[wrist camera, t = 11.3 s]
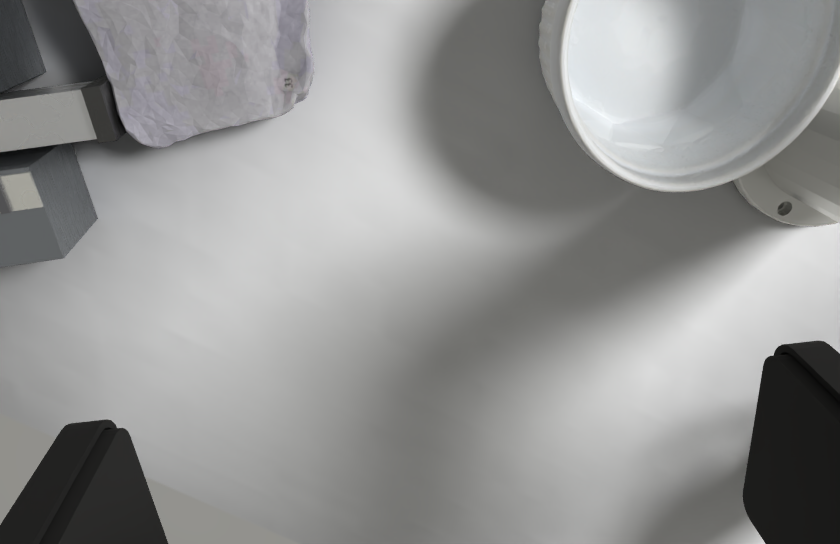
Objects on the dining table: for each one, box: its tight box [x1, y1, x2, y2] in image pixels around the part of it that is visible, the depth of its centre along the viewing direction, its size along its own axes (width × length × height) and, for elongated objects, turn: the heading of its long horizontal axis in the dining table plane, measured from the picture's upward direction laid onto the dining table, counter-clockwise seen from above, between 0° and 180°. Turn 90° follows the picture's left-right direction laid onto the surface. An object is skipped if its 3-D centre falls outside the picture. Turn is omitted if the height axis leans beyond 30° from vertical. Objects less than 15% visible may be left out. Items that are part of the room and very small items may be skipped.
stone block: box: [73, 0, 314, 149], centre depth 31 cm, size 12×5×10 cm
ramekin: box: [538, 0, 840, 192], centre depth 31 cm, size 13×13×7 cm
